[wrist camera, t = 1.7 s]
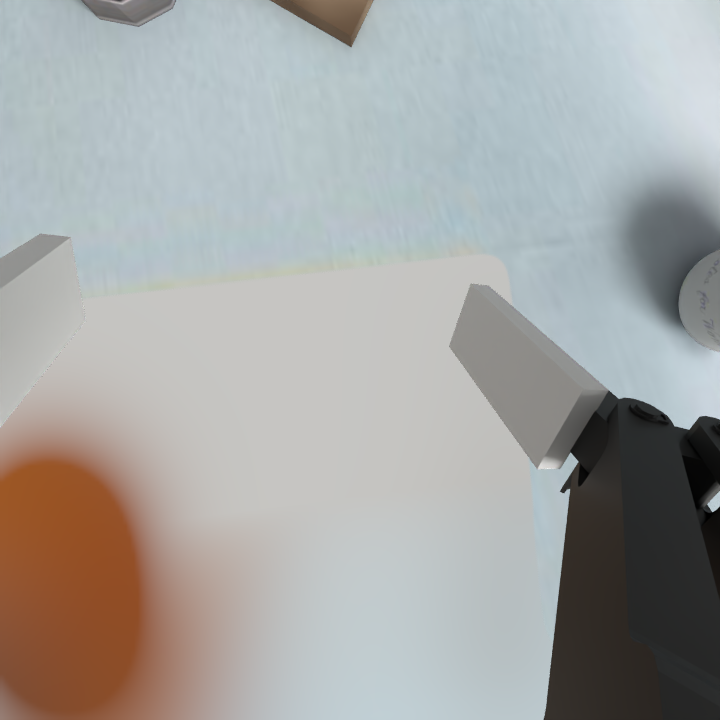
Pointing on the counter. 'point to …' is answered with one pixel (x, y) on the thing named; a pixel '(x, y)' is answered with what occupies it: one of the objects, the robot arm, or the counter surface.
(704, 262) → the teacup
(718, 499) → the counter surface
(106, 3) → the can
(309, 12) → the walnut board
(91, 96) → the counter surface
